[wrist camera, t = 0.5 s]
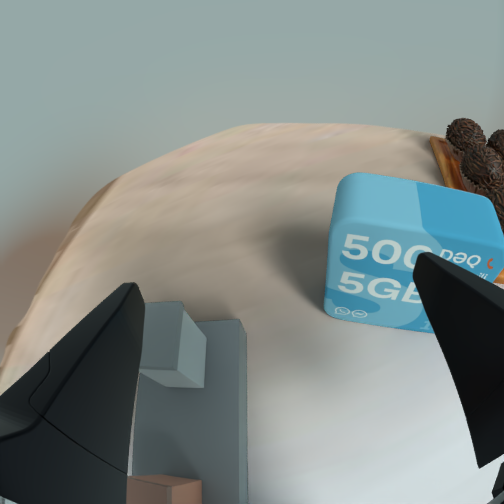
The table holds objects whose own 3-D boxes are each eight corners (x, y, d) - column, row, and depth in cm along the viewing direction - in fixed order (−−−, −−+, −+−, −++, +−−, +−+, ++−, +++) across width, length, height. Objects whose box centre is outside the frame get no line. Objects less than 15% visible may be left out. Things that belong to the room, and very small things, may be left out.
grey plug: (215, 395, 20) (172, 367, 14) (177, 394, 20) (124, 365, 14) (216, 347, 23) (180, 301, 17) (181, 348, 23) (135, 303, 17)
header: (248, 536, 12) (240, 547, 10) (151, 521, 13) (132, 527, 11) (246, 333, 24) (239, 318, 22) (162, 337, 25) (147, 323, 23)
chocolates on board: (429, 143, 39) (435, 100, 32) (503, 162, 34) (514, 123, 27) (465, 281, 23) (499, 225, 16) (557, 294, 18) (591, 251, 11)
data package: (322, 317, 24) (328, 215, 14) (331, 275, 26) (337, 167, 17) (447, 336, 20) (517, 249, 11) (446, 293, 22) (499, 198, 13)
